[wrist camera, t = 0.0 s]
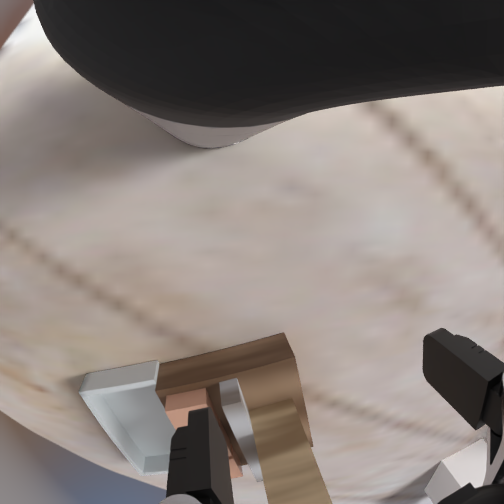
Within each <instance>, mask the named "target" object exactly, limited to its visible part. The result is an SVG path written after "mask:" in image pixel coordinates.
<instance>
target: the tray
mask: <svg viewBox="0 0 504 504" xmlns="http://www.w3.org/2000/svg"><path fill="white" fill-rule="evenodd" d="M158 370H159V362H158V360H155V361H150V362H145V363H141V364H136V365H131V366H125V367H120V368H115V369H109V370H104V371H98V372H92V373H87V374H86V376H85V378H84V380H83V383H82V385H81V387H80V390H79V394H80V395H81V397H82V398H83V400H84V401H85V403H86V404H87V406H88V407H89V409H90V410H91V412H92V413H93V415H94V416H95V418H96V419H97V420H98V422H99V423H100V425H101V426H102V427H103V429H104V430H105V432H106V433H107V434H108V436H109V437H110V438H111V440H112V441H113V442H114V444H115V445H116V446H117V447H118V449H119V450H120V451H121V452H122V454H123V455H124V456H125V457H126V459H127V460H128V461H129V462H130V464H131V465H132V466H133V467H134V468H135V470H136V471H137V472H138V473H139V474H140V475H141V476H145V475H157V474H166V473H168V468H169V461H170V460H169V456H170V452H171V451H170V446H171V438H172V436H173V435H174V433H175V431H176V430H175V428H174V426H173V425H172V423H171V421H170V420H169V418H168V416H167V414H166V413H165V408H164V406H163V405H162V403H161V401H160V399H159V397H158V396H157V394H156V392H155V388H156V382H157V376H158Z"/></svg>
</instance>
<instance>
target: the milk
mask: <svg viewBox="0 0 504 504" xmlns="http://www.w3.org/2000/svg"><path fill="white" fill-rule="evenodd" d="M486 463H487V444H486V442H485V441H484V440H483V438H482V439H480V440H478V441H477V442H475V443H473V444H471V445H470V446H468V447H466V448H464V449H462V450H461V451H459V452H457V453H455V454H453V455H451V456H449V457H447V458H445V459H443V460H441V462H440V464H439V466H438V468H437V469H436V471H435V473H434V475H433V476H432V478H431V480H430V481H429V483H428V485H427V486H426V488H425V489H424V491H425V492H426V494H427V495H428V496H429V498H430V499H431V501H432V502H433V503H434V504H437V503H439V502H440V501H441V500H442V499H444V498H445V497H447V496H449V495H450V494H452V493H454V492H455V491H457V490H459V489H460V488H462V487H463V486H465V485H466V484H468V483H469V482H470V483H471V484H472V485H473V487H474V488H477V487H480V486H483V482H484V479H485V474H486Z"/></svg>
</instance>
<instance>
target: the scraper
mask: <svg viewBox="0 0 504 504" xmlns="http://www.w3.org/2000/svg"><path fill="white" fill-rule="evenodd" d="M219 385H220V395H221V405H222V408H223V411H224V413H225V415H226V418H227V420H228V422H229V424H230V426H231V429H232V431H233V433H234V435H235V437H236V440H237V442H238V444H239V446H240V448H241V450H242V452H243V454H244V457H245V459H246V461H247V463H248V465H249V467H250V469H251V471H252V473H253V475H254V477H255V479H256V481H257V482H260V481H264V486H265V490H266V494H267V499H268V503H269V504H332V501H331V499H330V496H329V494H328V491H327V489H326V486H325V483H324V481H323V478H322V476H321V473H320V470H319V468H318V465H317V462H316V460H315V457H314V455H313V452H312V449H311V447H310V444H309V441H308V439H307V436H306V434H305V431H304V428H303V426H302V423H301V420H300V418H299V415H298V412H297V410H296V407H295V404H294V402H293V399H292V398H290V399H286V400H283V401H279V402H276V403H272V404H269V405H265V406H261V407H257V408H254V409H250V410H248V407H247V404H246V402H245V399H244V396H243V394H242V391H241V388H240V385H239V382H238V380H237V378H234V379H230V380H226V381H222V382H219Z"/></svg>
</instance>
